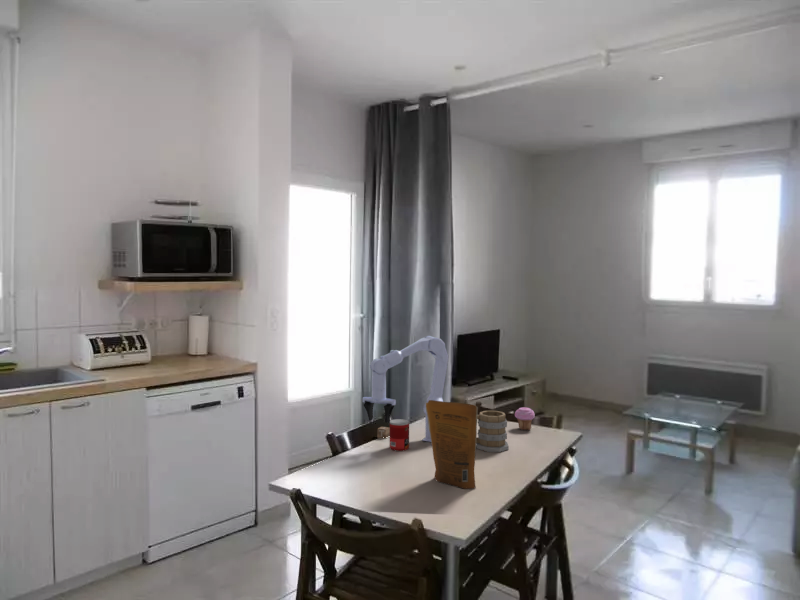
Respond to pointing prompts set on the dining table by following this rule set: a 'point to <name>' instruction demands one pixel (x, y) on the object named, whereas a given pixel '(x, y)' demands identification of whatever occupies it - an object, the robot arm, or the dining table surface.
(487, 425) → the tankard
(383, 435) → the letter cube
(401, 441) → the canned food
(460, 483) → the pancake mix bag
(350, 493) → the dining table surface
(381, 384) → the robot arm
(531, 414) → the cupcake
